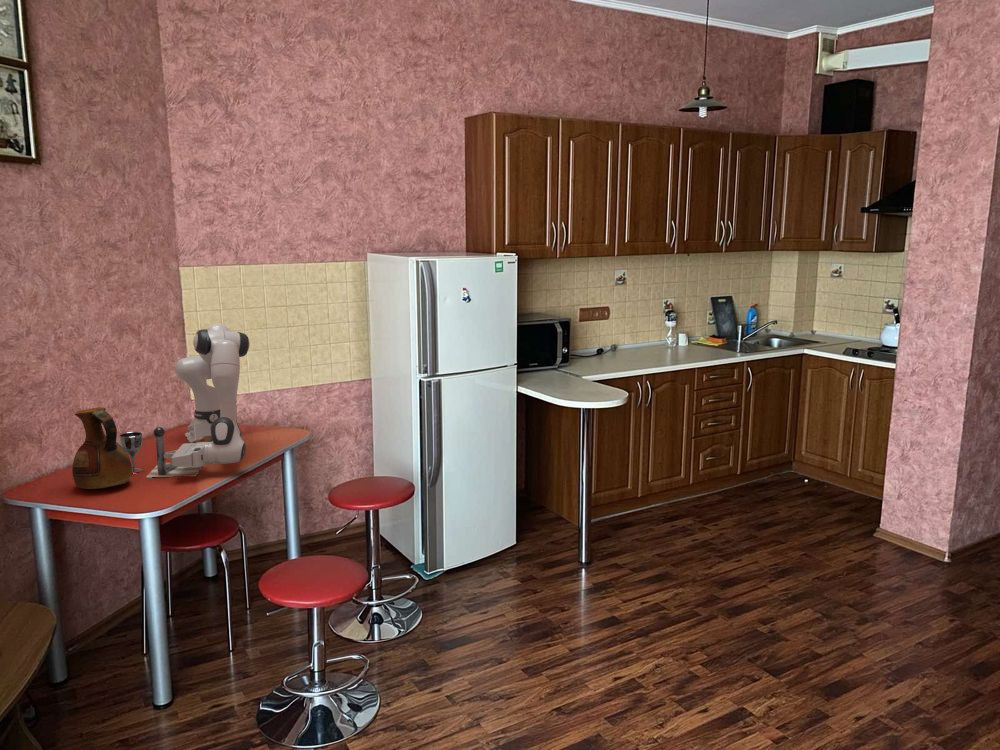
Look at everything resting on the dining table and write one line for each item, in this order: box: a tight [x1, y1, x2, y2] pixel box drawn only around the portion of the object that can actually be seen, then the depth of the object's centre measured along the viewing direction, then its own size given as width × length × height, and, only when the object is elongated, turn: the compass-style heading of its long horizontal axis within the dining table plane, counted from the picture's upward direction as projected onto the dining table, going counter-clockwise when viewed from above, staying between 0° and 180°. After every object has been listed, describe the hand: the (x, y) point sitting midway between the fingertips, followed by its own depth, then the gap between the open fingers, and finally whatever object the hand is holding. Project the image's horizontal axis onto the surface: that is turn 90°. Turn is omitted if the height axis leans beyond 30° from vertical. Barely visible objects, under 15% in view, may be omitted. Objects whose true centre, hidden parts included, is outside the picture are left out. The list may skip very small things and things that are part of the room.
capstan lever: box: [152, 426, 177, 475], centre depth 304 cm, size 19×6×18 cm, turn 173°
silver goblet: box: [119, 431, 143, 474], centre depth 303 cm, size 8×8×15 cm
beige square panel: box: [145, 462, 204, 479], centre depth 306 cm, size 18×18×1 cm
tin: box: [191, 436, 212, 443], centre depth 323 cm, size 15×3×8 cm, turn 168°
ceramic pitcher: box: [71, 406, 133, 490], centre depth 283 cm, size 20×20×30 cm
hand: (164, 455), depth 297 cm, fingers closed
